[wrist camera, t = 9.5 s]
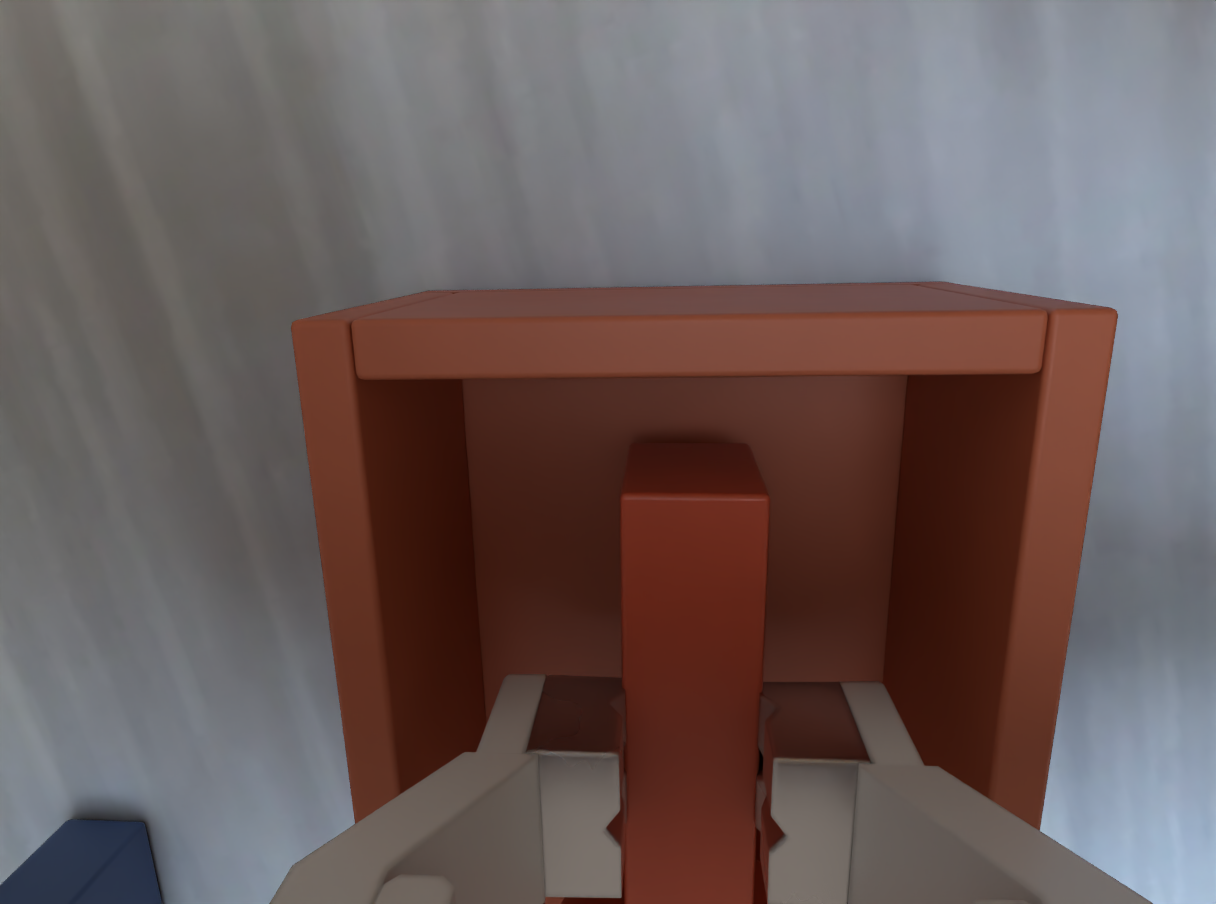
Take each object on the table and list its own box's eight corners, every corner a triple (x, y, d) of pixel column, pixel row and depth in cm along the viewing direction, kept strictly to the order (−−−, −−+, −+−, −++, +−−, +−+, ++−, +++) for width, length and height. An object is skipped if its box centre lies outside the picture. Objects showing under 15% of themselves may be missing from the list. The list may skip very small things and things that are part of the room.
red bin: (484, 1009, 16) (415, 1306, 11) (425, 290, 12) (286, 320, 7) (876, 1030, 15) (962, 1352, 11) (946, 281, 11) (1122, 308, 7)
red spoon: (532, 440, 10) (499, 492, 8) (850, 442, 10) (899, 495, 8) (558, 1036, 13) (537, 1188, 11) (808, 1051, 13) (836, 1211, 11)
